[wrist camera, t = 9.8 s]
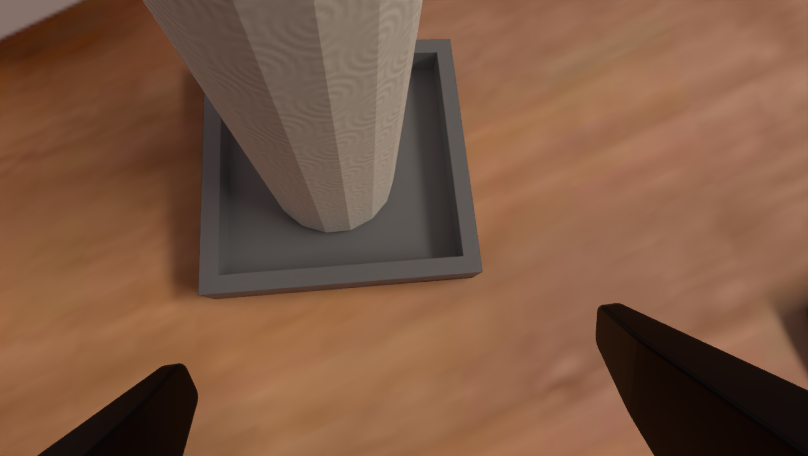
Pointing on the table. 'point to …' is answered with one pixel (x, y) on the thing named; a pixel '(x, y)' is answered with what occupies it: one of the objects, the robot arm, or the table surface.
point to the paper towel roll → (305, 93)
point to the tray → (364, 245)
